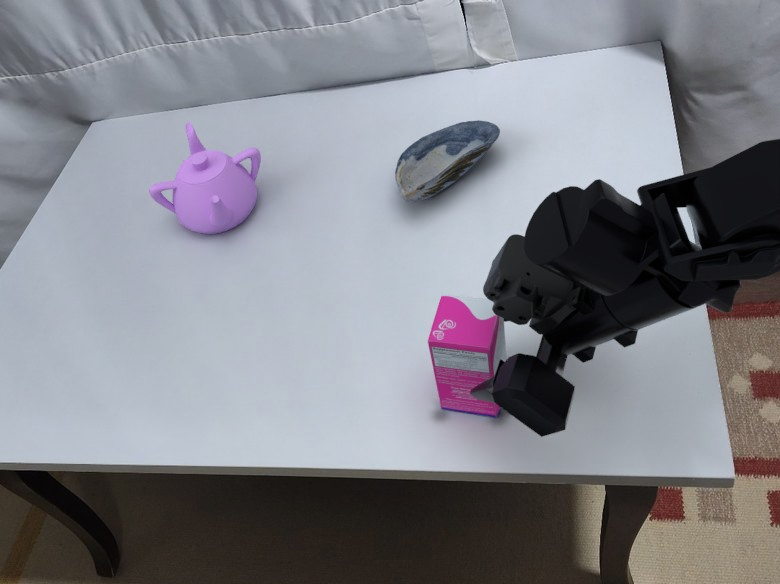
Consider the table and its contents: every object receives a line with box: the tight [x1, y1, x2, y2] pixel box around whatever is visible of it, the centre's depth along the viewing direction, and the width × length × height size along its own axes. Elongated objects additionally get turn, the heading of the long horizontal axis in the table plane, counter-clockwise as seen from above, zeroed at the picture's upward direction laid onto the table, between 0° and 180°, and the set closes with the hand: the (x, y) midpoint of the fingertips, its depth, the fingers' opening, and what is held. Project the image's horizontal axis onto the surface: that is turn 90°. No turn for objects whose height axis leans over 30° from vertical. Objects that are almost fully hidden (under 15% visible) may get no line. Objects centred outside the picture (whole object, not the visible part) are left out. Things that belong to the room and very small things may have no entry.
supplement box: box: [427, 294, 508, 419], centre depth 71 cm, size 6×6×12 cm
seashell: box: [394, 120, 501, 203], centre depth 94 cm, size 15×12×5 cm
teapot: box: [148, 122, 262, 235], centre depth 99 cm, size 12×14×9 cm
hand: (487, 355), depth 70 cm, fingers open, 9 cm apart
